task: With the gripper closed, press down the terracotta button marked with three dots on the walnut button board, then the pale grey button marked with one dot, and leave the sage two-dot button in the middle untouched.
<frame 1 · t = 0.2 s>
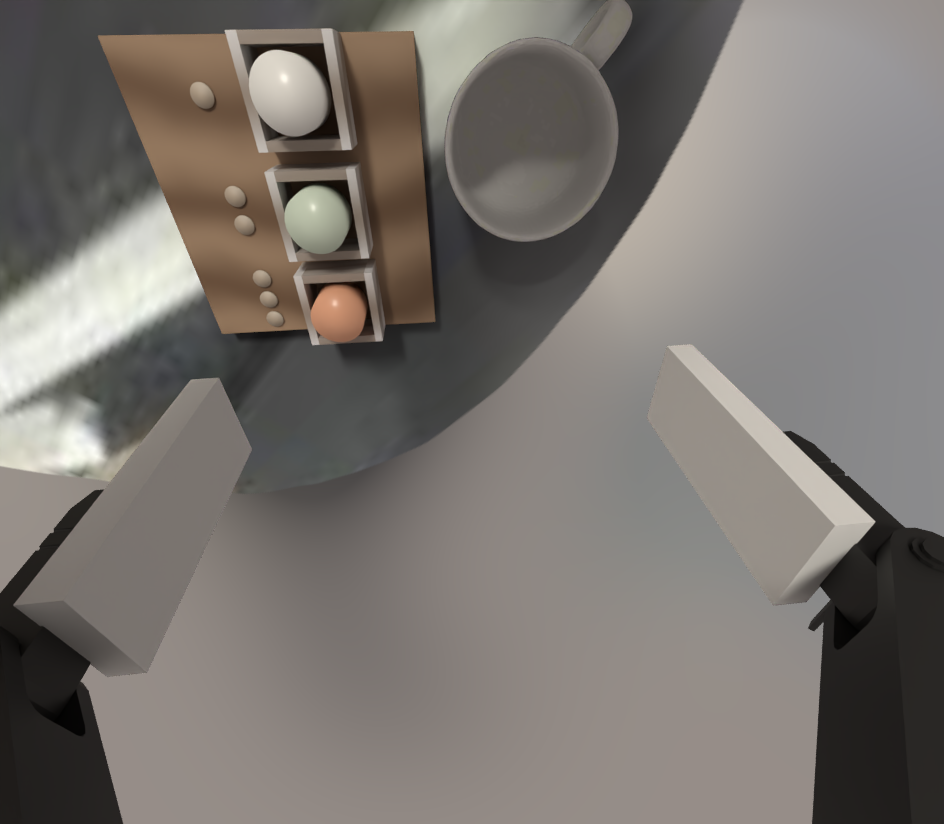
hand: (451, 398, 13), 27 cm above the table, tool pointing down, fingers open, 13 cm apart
button one: (292, 94, 26), point 5 cm above the table, slide at 0.0 cm
button three: (340, 311, 34), point 5 cm above the table, slide at 0.0 cm
teacup: (527, 120, 32), on the table
button two: (319, 218, 30), point 5 cm above the table, slide at 0.0 cm
button board: (306, 203, 34), on the table
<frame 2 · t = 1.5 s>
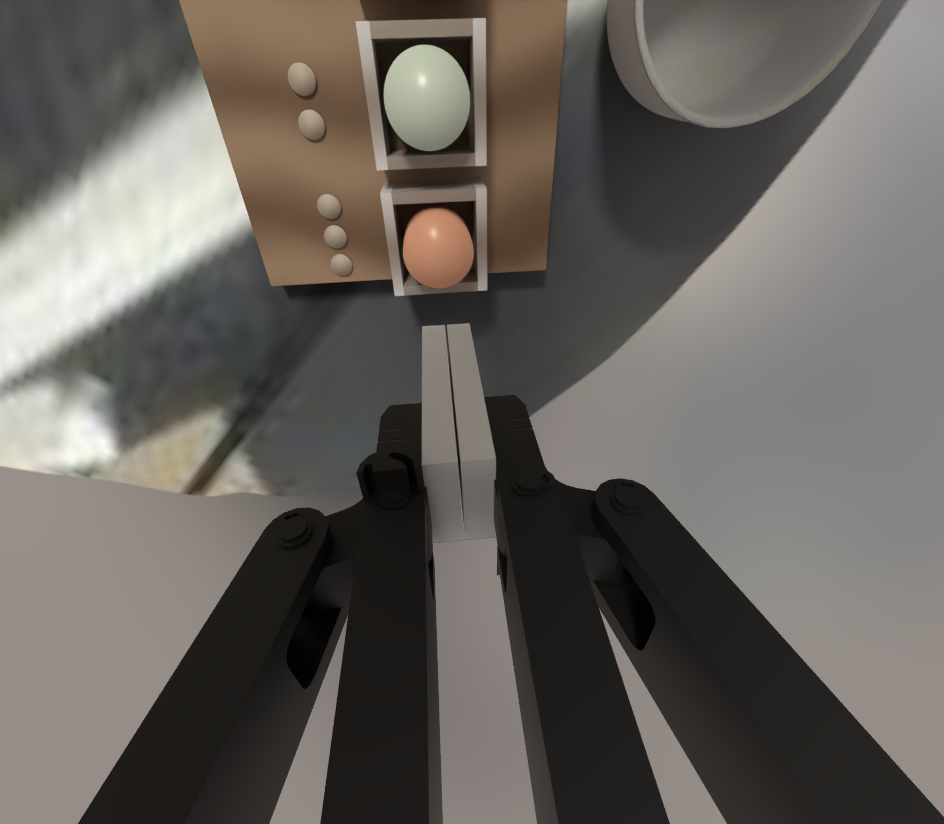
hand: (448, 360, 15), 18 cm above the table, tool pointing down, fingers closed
button three: (437, 246, 25), point 5 cm above the table, slide at 0.0 cm
button two: (427, 100, 21), point 5 cm above the table, slide at 0.0 cm
button board: (392, 98, 25), on the table
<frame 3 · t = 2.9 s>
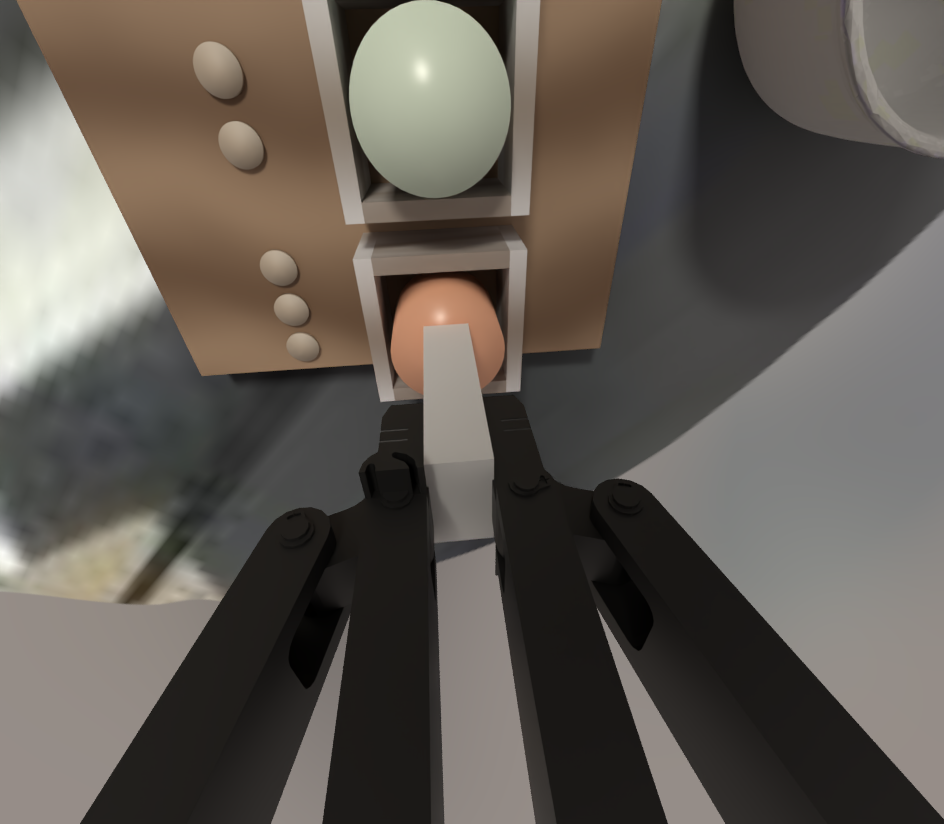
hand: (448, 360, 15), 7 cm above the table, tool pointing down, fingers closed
button three: (446, 333, 16), point 5 cm above the table, slide at 0.1 cm, touching gripper
button two: (430, 107, 12), point 5 cm above the table, slide at 0.0 cm
button board: (374, 102, 16), on the table
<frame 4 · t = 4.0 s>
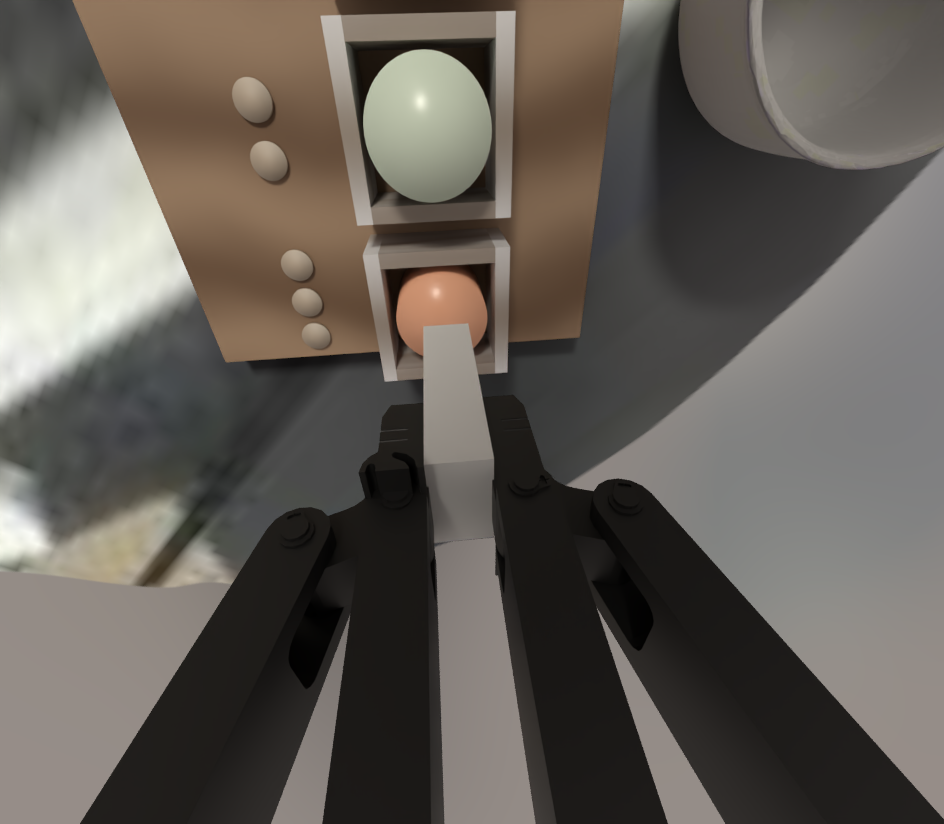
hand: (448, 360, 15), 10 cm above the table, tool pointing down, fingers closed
button three: (441, 306, 20), point 4 cm above the table, slide at 1.6 cm
button two: (428, 129, 15), point 5 cm above the table, slide at 0.0 cm
button board: (380, 125, 19), on the table
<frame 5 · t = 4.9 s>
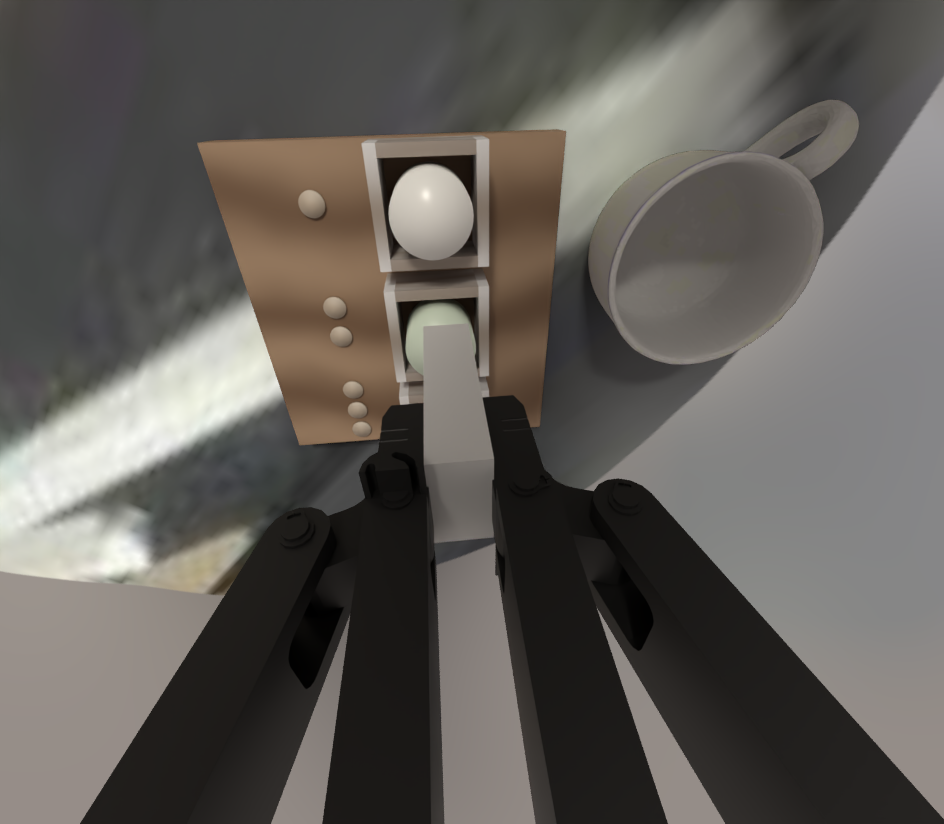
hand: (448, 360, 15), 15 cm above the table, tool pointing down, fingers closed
button one: (430, 210, 21), point 5 cm above the table, slide at 0.0 cm
teacup: (669, 216, 28), on the table
button two: (440, 337, 26), point 5 cm above the table, slide at 0.0 cm
button board: (408, 307, 30), on the table
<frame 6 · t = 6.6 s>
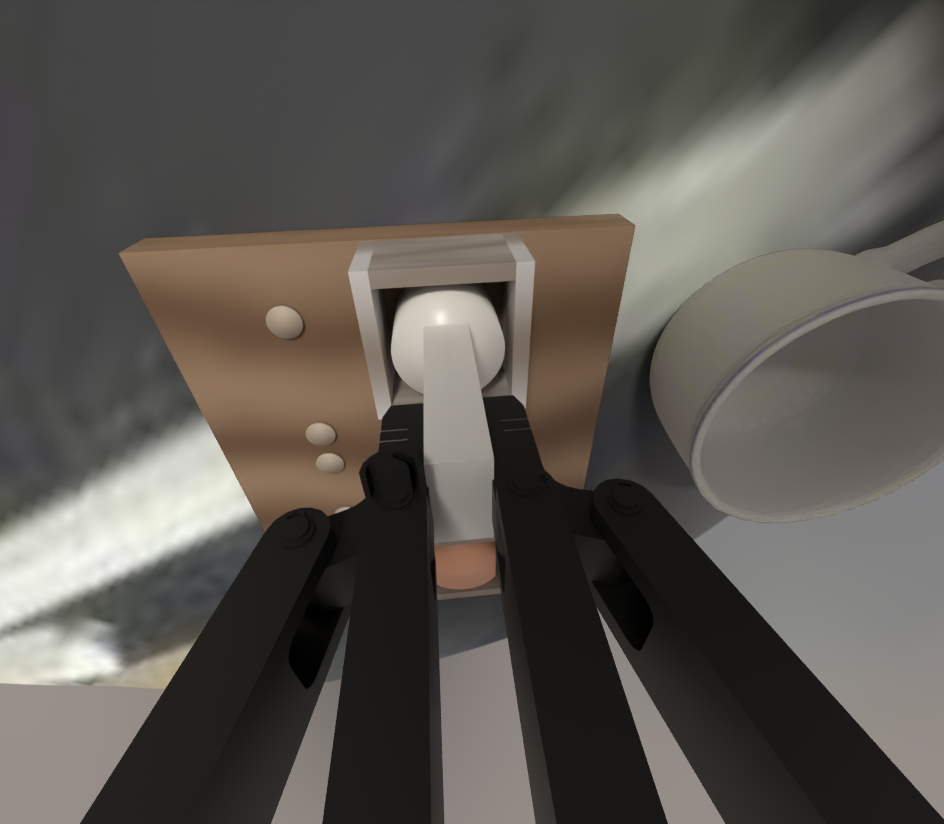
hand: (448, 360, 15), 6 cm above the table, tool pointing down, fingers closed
button one: (446, 332, 16), point 4 cm above the table, slide at 1.3 cm, touching gripper
button three: (461, 546, 25), point 4 cm above the table, slide at 1.6 cm
teacup: (753, 311, 21), on the table
button board: (415, 418, 23), on the table
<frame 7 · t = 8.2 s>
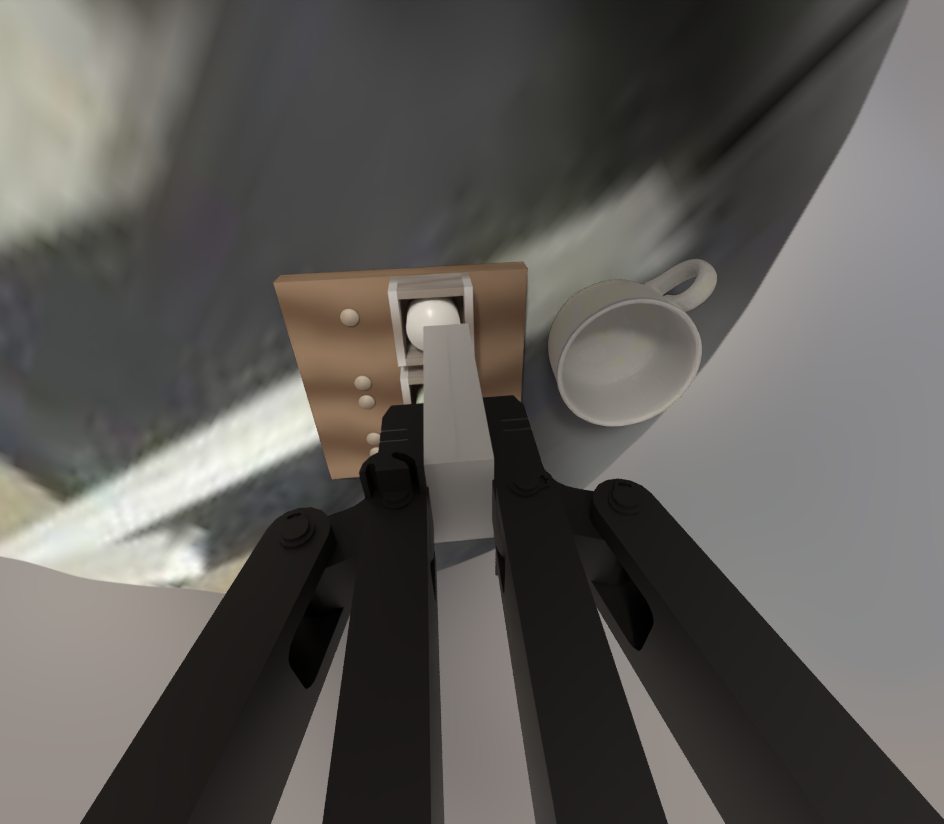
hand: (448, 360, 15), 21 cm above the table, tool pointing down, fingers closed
button one: (433, 320, 33), point 4 cm above the table, slide at 1.6 cm
teacup: (608, 313, 38), on the table
button two: (440, 407, 35), point 5 cm above the table, slide at 0.0 cm
button board: (416, 377, 39), on the table
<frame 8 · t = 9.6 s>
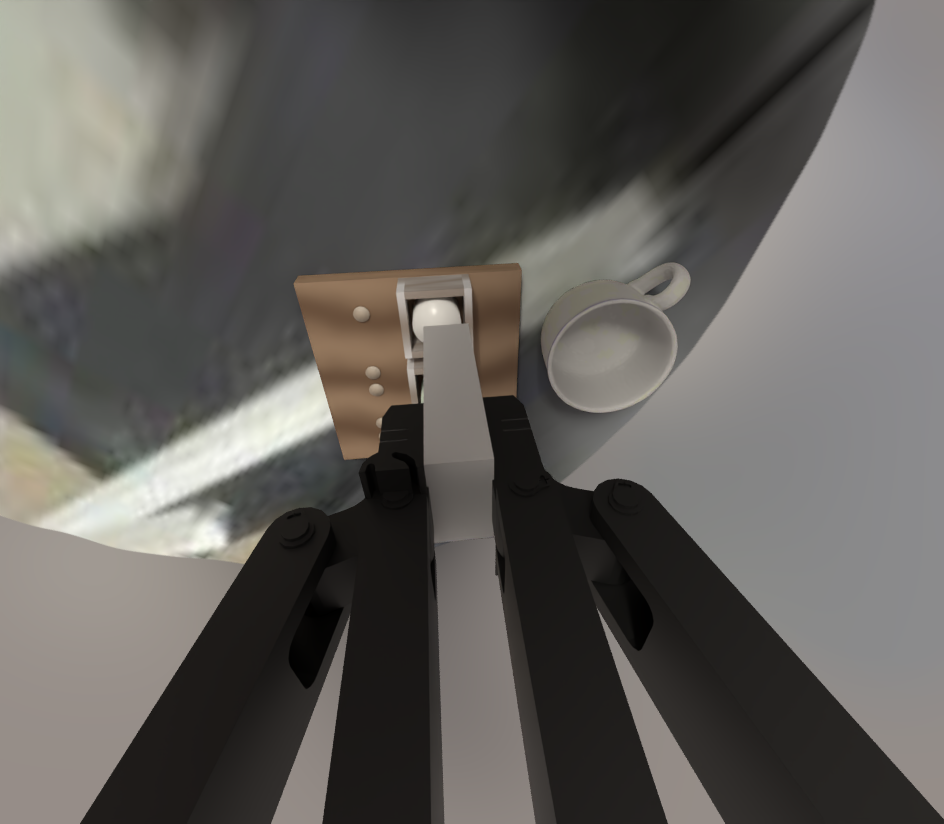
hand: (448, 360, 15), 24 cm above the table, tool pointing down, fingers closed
button one: (436, 317, 36), point 4 cm above the table, slide at 1.6 cm
teacup: (597, 309, 41), on the table
button two: (442, 395, 39), point 5 cm above the table, slide at 0.0 cm
button board: (421, 367, 43), on the table
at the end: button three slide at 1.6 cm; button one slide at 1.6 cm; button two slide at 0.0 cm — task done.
